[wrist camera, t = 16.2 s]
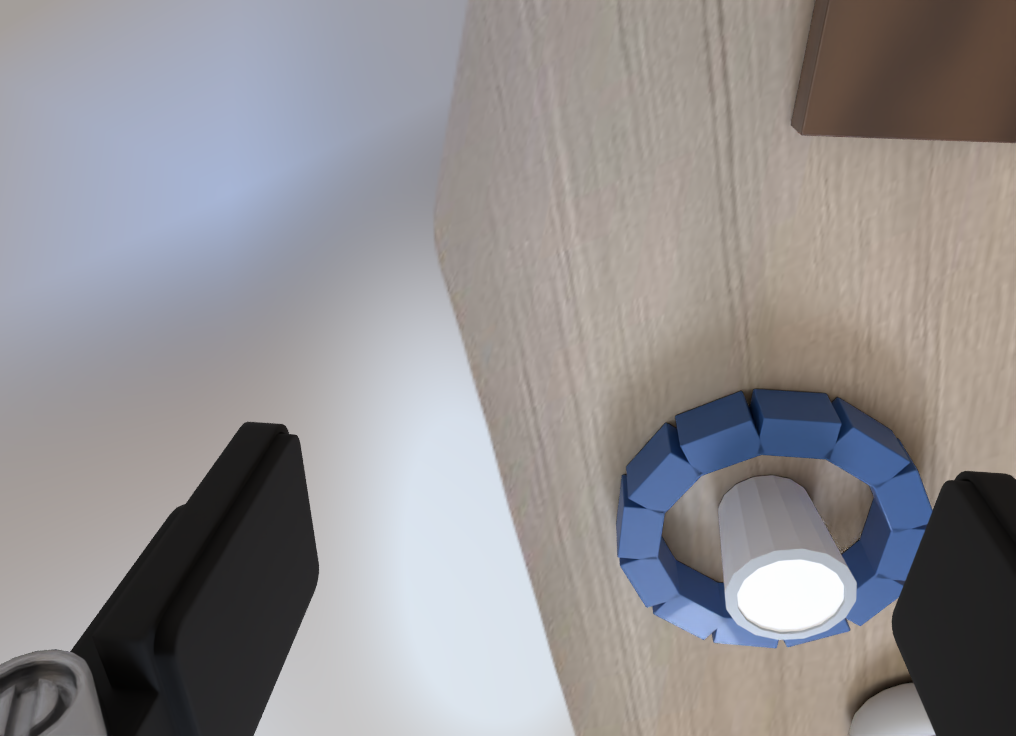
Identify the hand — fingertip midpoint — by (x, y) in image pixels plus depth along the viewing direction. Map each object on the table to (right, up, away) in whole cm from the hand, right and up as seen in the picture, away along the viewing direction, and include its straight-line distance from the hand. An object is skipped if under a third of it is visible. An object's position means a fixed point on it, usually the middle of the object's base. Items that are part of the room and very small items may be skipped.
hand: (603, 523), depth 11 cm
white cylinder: (+14, -6, +35) cm, 39 cm away
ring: (+14, -7, +34) cm, 37 cm away
